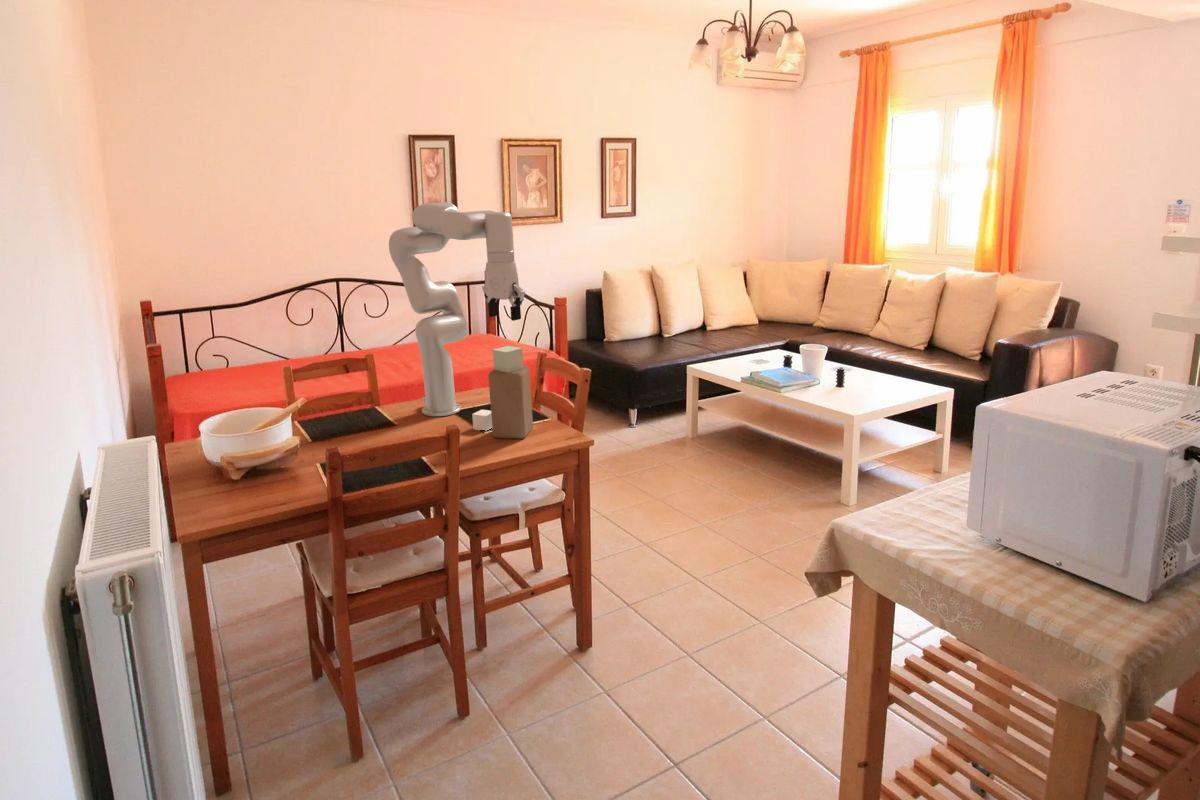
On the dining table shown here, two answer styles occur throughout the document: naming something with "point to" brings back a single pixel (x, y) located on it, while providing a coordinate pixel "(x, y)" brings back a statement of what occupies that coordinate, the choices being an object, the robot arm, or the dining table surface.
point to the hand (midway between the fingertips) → (504, 318)
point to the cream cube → (482, 420)
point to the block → (511, 403)
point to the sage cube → (508, 359)
